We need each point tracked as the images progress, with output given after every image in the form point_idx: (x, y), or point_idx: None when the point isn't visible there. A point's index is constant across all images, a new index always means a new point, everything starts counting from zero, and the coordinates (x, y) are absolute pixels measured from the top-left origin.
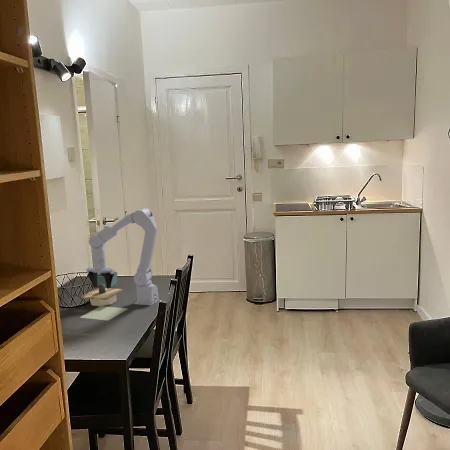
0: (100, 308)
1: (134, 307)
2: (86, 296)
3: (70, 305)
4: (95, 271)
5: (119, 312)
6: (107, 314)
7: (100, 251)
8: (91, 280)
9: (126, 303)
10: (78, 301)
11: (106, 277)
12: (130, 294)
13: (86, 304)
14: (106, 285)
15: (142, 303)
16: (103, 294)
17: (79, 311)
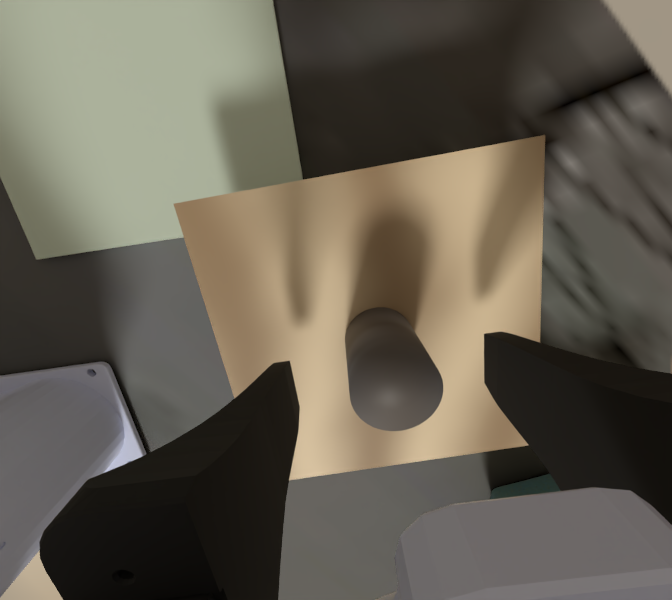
0: (260, 165)
1: (46, 314)
2: (466, 162)
3: (620, 138)
4: (502, 556)
5: (8, 150)
6: (53, 53)
7: None
8: (591, 366)
9: (183, 358)
10: (610, 252)
11: (149, 464)
12: (314, 499)
13: None
14: (273, 377)
15: (32, 381)
16: (319, 298)
17: (412, 31)
